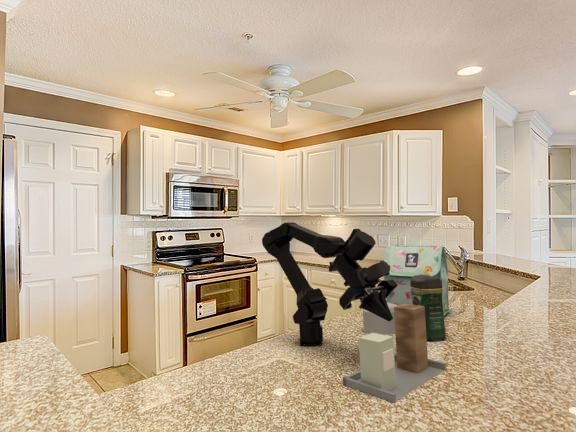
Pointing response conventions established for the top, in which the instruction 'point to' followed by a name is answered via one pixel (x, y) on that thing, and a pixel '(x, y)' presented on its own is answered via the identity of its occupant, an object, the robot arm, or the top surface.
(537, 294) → the top surface
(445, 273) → the lunch bag
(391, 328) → the lumpy-topped squat cylinder
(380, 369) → the sage box
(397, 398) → the parts tray
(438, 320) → the coffee jar
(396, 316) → the walnut box
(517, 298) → the top surface
